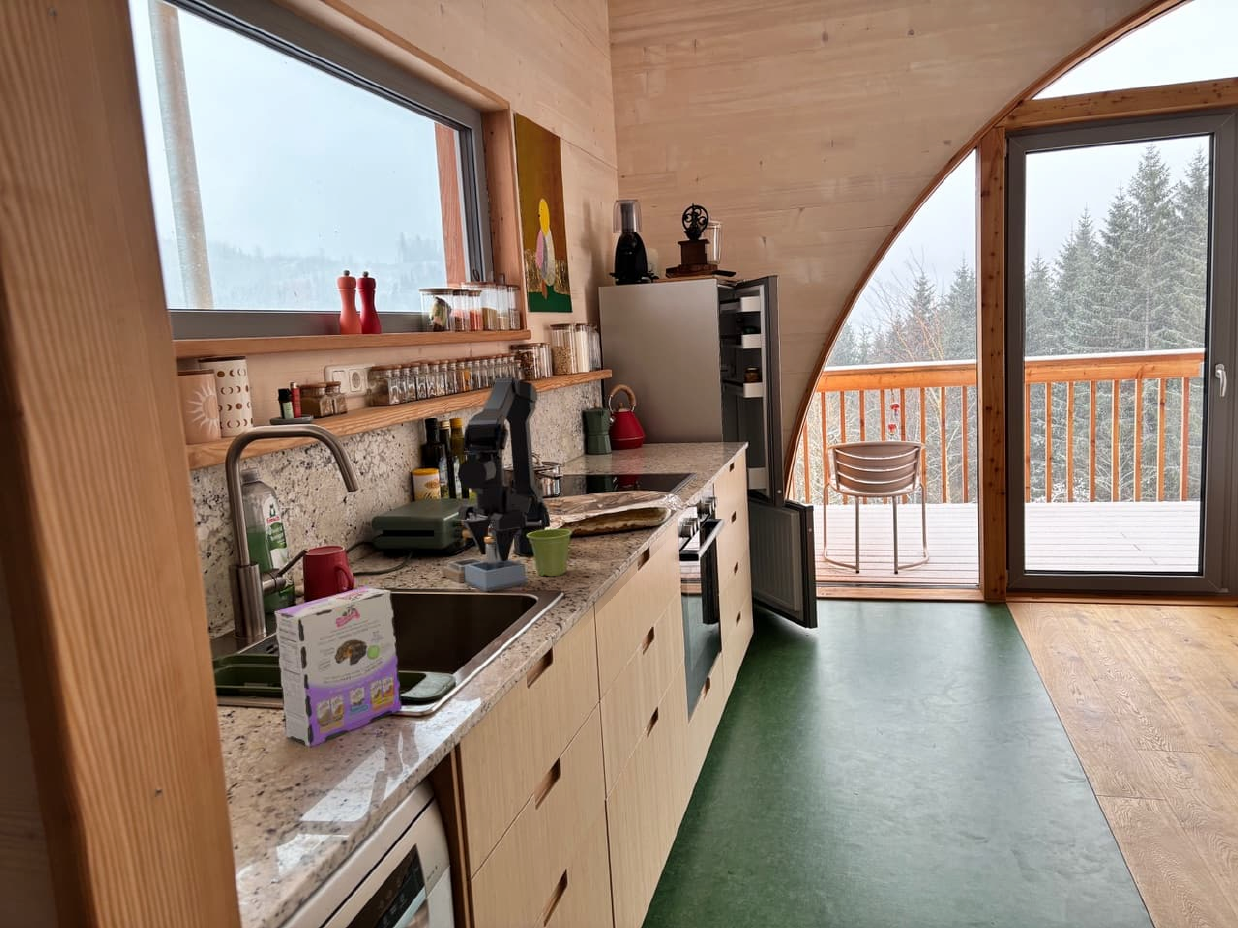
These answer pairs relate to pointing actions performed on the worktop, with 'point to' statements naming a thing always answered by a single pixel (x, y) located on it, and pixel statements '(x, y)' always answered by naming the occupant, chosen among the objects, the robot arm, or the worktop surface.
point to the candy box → (337, 664)
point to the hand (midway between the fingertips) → (494, 557)
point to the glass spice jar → (492, 554)
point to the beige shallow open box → (458, 569)
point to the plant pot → (550, 550)
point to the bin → (495, 575)
